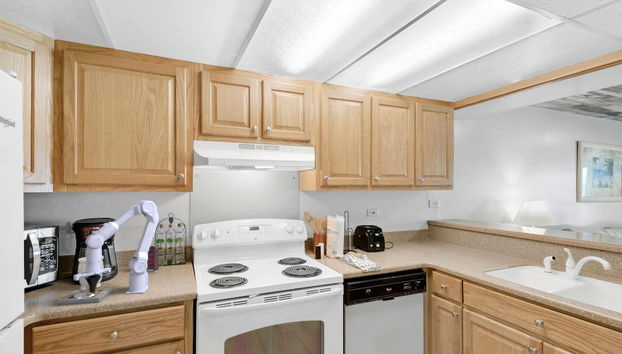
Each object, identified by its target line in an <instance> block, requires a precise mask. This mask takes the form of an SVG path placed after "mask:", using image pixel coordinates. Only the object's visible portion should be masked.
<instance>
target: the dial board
mask: <svg viewBox="0 0 622 354" xmlns="http://www.w3.org/2000/svg"><path fill="white" fill-rule="evenodd" d="M97 290H98V291H99V294H97V295H96V296H94V297H90V298H74V295H75V294H77V293H79V292H83V291H86V290H81V289H74V290H73V291H71V292H69V293H67V294H66V295H64V296H63V297H61V298H58V299H57V300H56V306H57V307H58V306H62V307H63V306H73V305H75V306H76V305H89V304H99V303H101V302H102V301H103V300H105V299H106V298H107V297H109V296H110V295H111V294H113V287H107V288H106V287H104V288H97Z"/></svg>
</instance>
